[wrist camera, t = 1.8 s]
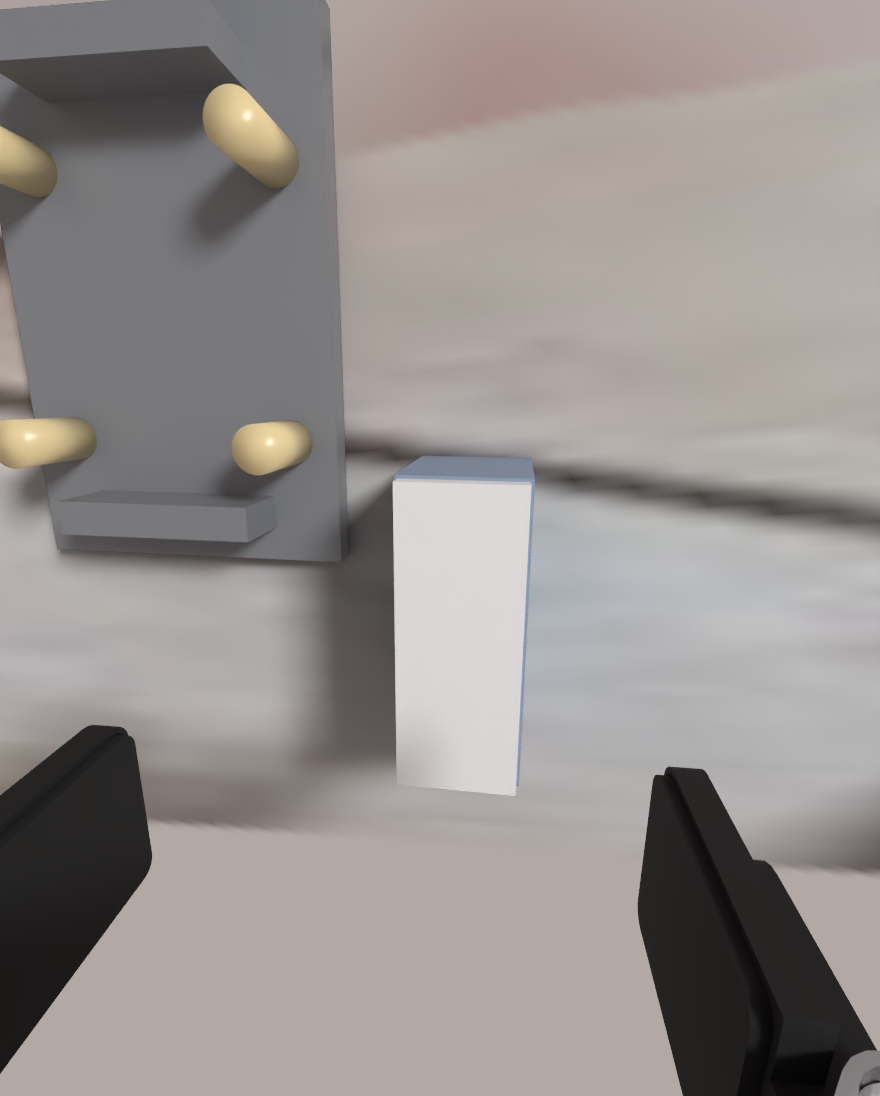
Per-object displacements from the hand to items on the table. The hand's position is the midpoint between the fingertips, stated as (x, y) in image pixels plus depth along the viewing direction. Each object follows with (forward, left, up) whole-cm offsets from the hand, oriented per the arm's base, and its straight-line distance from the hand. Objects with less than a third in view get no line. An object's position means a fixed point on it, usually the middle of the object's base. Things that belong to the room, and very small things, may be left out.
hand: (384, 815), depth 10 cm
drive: (-1, 0, -13) cm, 13 cm away
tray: (+10, -10, -13) cm, 19 cm away
